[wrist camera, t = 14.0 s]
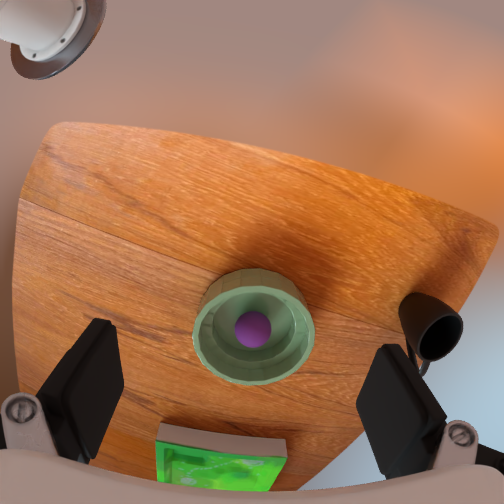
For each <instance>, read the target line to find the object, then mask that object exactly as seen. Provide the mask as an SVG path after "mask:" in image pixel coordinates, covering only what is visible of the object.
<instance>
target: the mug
mask: <svg viewBox="0 0 504 504" xmlns="http://www.w3.org/2000/svg"><path fill="white" fill-rule="evenodd" d="M398 314H399V318H400V321H401V325H402V328H403V331H404V334H405V337H406V345H407V351H408V356H409V359H410V361H411V362H412V364H413V365H414V367H415V368H416V370H417V371H418V372H419V374H420V375H421V377H422V376H424V375H425V373H426V372H427V370H428V367H429V365H430V362H432V361H437V360H439V359H441V358H443V357H445V356H446V355H447V354H448V353H450V352H451V351H452V350H453V348H454V347H455V346H456V345H457V343H458V341H459V340H460V337H461V335H462V332H463V321H462V318H461V317H460V316H459V314H458V313H457V312H455V311H454V310H453V309H452V308H451V307H450V306H449V305H447V304H446V303H444V302H442V301H441V300H439V299H437V298H435V297H432V296H429V295H426V294H423V293H420V292H414V293H411V294H409V295H408V296H407V297H405V299H404V300H403V301H402V302H401V304H400V306H399V311H398ZM415 353H416V354H417V355H418V357H419V358H420V359H421V360H423V363H422V366H421V369H420V370H419V368H418V364H417V360H416V355H415Z"/></svg>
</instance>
